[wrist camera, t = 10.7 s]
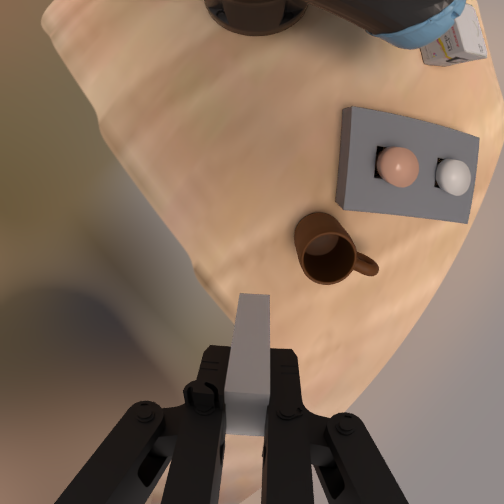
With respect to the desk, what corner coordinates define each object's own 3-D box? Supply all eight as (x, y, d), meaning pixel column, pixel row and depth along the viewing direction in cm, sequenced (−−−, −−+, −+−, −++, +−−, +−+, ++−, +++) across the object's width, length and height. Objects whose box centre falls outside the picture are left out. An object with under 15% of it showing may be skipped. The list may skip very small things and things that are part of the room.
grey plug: (421, 152, 39) (447, 157, 32) (446, 158, 39) (472, 164, 32) (418, 183, 41) (442, 193, 34) (442, 187, 41) (467, 198, 34)
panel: (342, 109, 38) (352, 106, 33) (462, 135, 37) (479, 137, 33) (335, 201, 43) (343, 209, 39) (451, 215, 43) (467, 223, 38)
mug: (372, 229, 45) (395, 252, 36) (354, 271, 47) (370, 300, 39) (303, 204, 44) (312, 222, 35) (286, 249, 47) (290, 277, 38)
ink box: (410, 18, 31) (445, -5, 20) (435, 22, 30) (472, 3, 19) (423, 65, 34) (463, 52, 23) (447, 68, 33) (489, 58, 22)
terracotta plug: (366, 142, 38) (386, 144, 31) (397, 147, 38) (420, 151, 31) (363, 176, 40) (382, 184, 33) (393, 180, 40) (416, 189, 33)
